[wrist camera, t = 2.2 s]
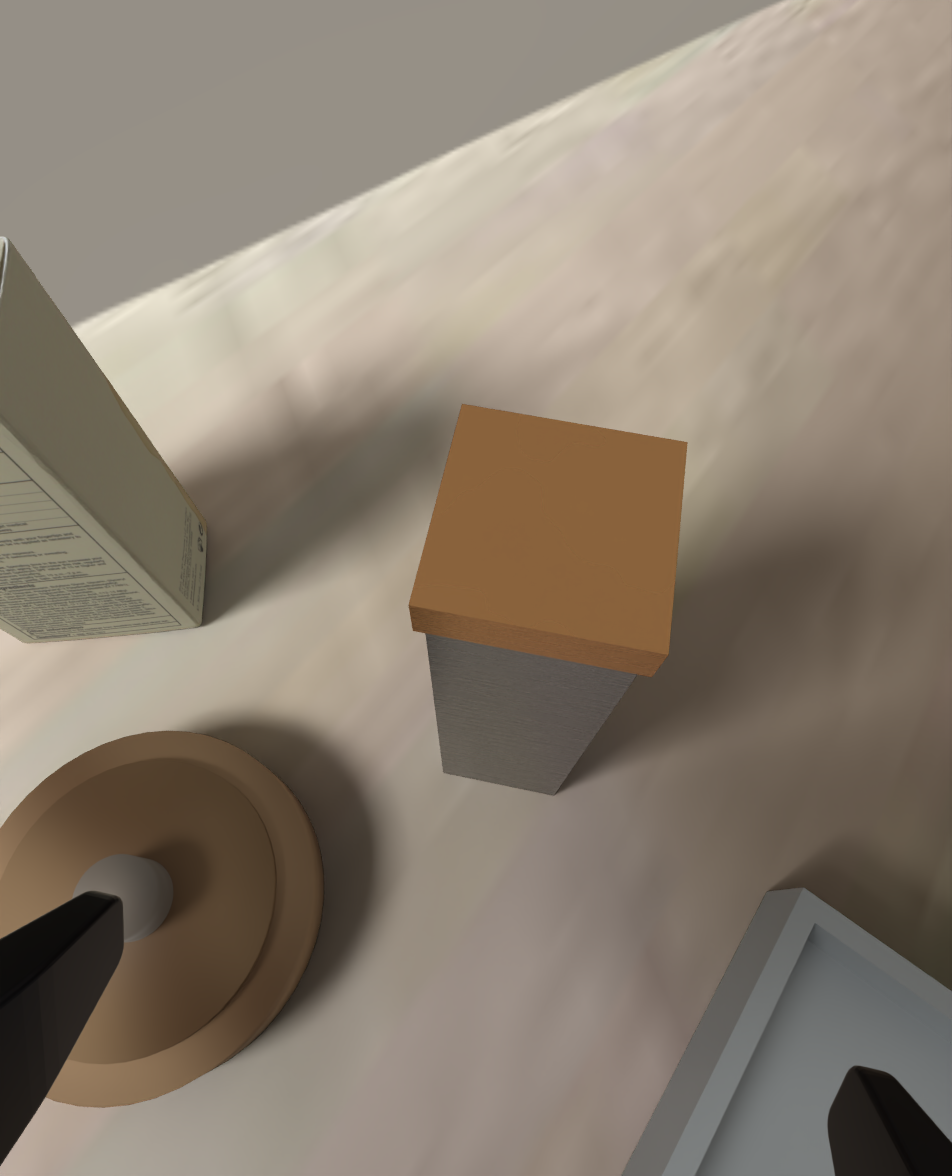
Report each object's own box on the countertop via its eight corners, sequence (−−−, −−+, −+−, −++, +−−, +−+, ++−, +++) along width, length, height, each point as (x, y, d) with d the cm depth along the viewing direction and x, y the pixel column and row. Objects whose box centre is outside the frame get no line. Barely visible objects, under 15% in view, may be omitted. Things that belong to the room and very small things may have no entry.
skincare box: (210, 522, 26) (26, 227, 15) (204, 635, 24) (-13, 391, 13) (33, 537, 26) (-289, 245, 15) (12, 652, 24) (-376, 417, 13)
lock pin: (557, 801, 22) (668, 655, 10) (437, 776, 22) (408, 605, 10) (574, 685, 24) (687, 442, 12) (462, 663, 24) (462, 403, 12)
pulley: (158, 1176, 18) (92, 1229, 15) (-64, 939, 20) (-163, 941, 17) (387, 867, 21) (373, 856, 18) (173, 691, 23) (128, 654, 20)
